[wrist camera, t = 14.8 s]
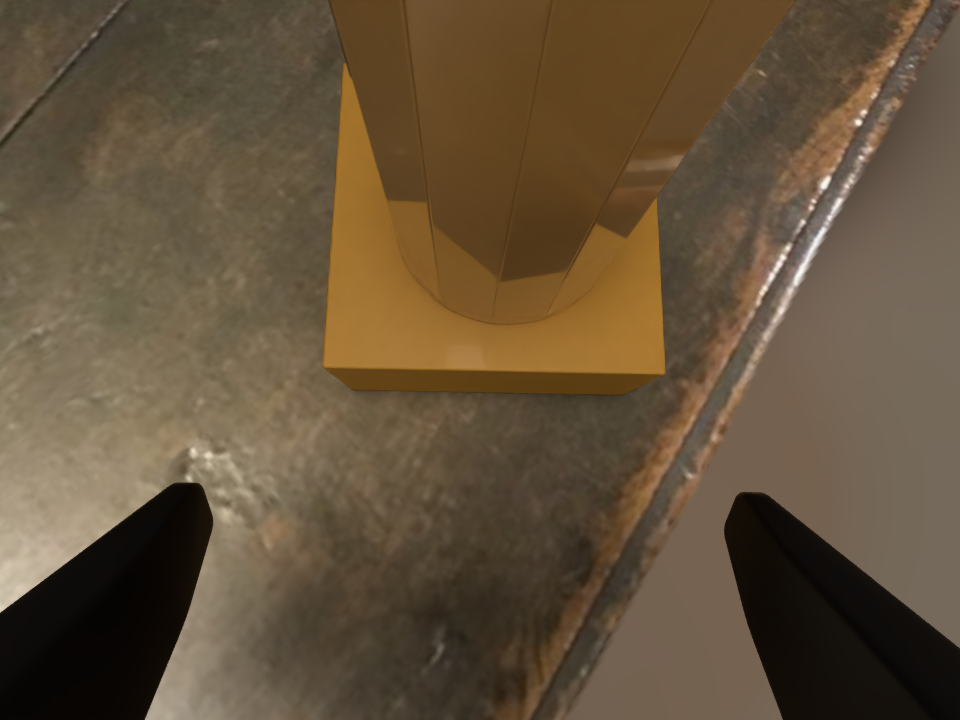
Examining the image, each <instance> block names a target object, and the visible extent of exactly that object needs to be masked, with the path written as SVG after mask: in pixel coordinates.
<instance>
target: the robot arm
mask: <svg viewBox="0 0 960 720" xmlns="http://www.w3.org/2000/svg"><path fill="white" fill-rule="evenodd" d="M212 528H213V516H212V512H211V509H210V506H209V503H208V500H207V498H206V495H205V492H204V489H203V487H202V486H201V485H200V484H199V483H174V484H172V485H170V486H168V487H167V488H166V489H164V490H163V491H162V492H160V493H159V494H158V495H156V496H155V497H154V498H152V499H151V500H150V501H148V502H147V503H146V504H144V505H143V506H142V507H140V508H139V509H138V510H136V511H135V512H134V513H132V514H131V515H130V516H128V517H127V518H126V519H124V520H123V521H122V522H120V523H119V524H118V525H116V526H115V527H114V528H112V529H111V530H110V531H109V532H107V533H106V534H105V535H103V536H102V537H101V538H99V539H98V540H97V541H95V542H94V543H93V544H91V545H90V546H89V547H87V548H86V549H85V550H83V551H82V552H81V553H79V554H78V555H77V556H75V557H74V558H73V559H71V560H70V561H69V562H67V563H66V564H65V565H63V566H62V567H61V568H59V569H58V570H57V571H55V572H54V573H53V574H51V575H50V576H49V577H47V578H46V579H45V580H43V581H42V582H41V583H39V584H38V585H37V586H35V587H34V588H33V589H31V590H30V591H29V592H27V593H26V594H25V595H23V596H22V597H21V598H19V599H18V600H17V601H15V602H14V603H13V604H11V605H10V606H9V607H7V608H6V609H5V610H3V611H2V612H1V613H0V720H145V718H146V715H147V713H148V710H149V708H150V705H151V703H152V701H153V698H154V696H155V693H156V691H157V688H158V686H159V684H160V681H161V679H162V676H163V674H164V672H165V669H166V667H167V664H168V662H169V659H170V657H171V655H172V652H173V650H174V647H175V645H176V642H177V640H178V638H179V635H180V633H181V630H182V627H183V625H184V622H185V620H186V617H187V614H188V611H189V607H190V604H191V601H192V598H193V594H194V591H195V587H196V584H197V580H198V577H199V574H200V570H201V567H202V563H203V560H204V556H205V553H206V549H207V546H208V543H209V539H210V536H211V532H212ZM724 535H725V540H726V544H727V548H728V552H729V555H730V560H731V564H732V567H733V571H734V575H735V579H736V583H737V587H738V591H739V595H740V598H741V602H742V606H743V610H744V613H745V617H746V620H747V624H748V627H749V629H750V632H751V635H752V638H753V641H754V644H755V646H756V649H757V652H758V654H759V657H760V660H761V662H762V665H763V668H764V670H765V673H766V676H767V678H768V681H769V684H770V686H771V689H772V692H773V694H774V697H775V699H776V702H777V705H778V708H779V710H780V713H781V716H782V718H783V720H960V648H959V647H957V646H956V645H955V644H954V643H952V642H951V641H950V640H949V639H947V638H946V637H945V636H944V635H942V634H941V633H940V632H939V631H937V630H936V629H935V628H934V627H932V626H931V625H930V624H929V623H927V622H926V621H925V620H923V619H922V618H921V617H920V616H919V615H917V614H916V613H915V612H913V611H912V610H911V609H910V608H909V607H907V606H906V605H905V604H904V603H902V602H901V601H900V600H898V599H897V598H896V597H895V596H894V595H892V594H891V593H890V592H889V591H887V590H886V589H885V588H884V587H882V586H881V585H880V584H878V583H877V582H876V581H875V580H873V579H872V578H871V577H870V576H869V575H867V574H866V573H865V572H863V571H862V570H861V569H860V568H858V567H857V566H856V565H855V564H853V563H852V562H851V561H850V560H848V559H847V558H846V557H845V556H843V555H842V554H841V553H840V552H838V551H837V550H836V549H835V548H833V547H832V546H831V545H830V544H828V543H827V542H826V541H824V540H823V539H822V538H821V537H819V536H818V535H817V534H816V533H814V532H813V531H812V530H811V529H810V528H808V527H807V526H806V525H805V524H803V523H802V522H801V521H800V520H798V519H797V518H796V517H794V516H793V515H792V514H791V513H790V512H788V511H787V510H785V508H783V507H782V506H781V505H780V504H778V503H777V502H776V501H775V500H773V499H772V498H771V497H769V496H768V495H766V494H764V493H761V492H741V493H739V494H738V495H737V496H736V498H735V500H734V503H733V505H732V508H731V510H730V513H729V515H728V518H727V520H726V523H725V527H724Z"/></svg>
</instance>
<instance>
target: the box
mask: <svg viewBox="0 0 960 720" xmlns="http://www.w3.org/2000/svg"><path fill="white" fill-rule="evenodd" d="M322 366H323V368H324V369H326V370H327V371H328V372H330V373H331V374H332V375H334V376H335V377H336V378H338V379H339V380H340V381H342V382H343V383H344V384H346V385H347V386H348V387H350V388H351V389H353V390H380V391H434V392H488V393H541V394H595V395H623V394H625V393H627V392H629V391H631V390H633V389H635V388H637V387H639V386H642V385H644V384H646V383H648V382H650V381H652V380H654V379H656V378H658V377H660V376H662V375H665V353H664V333H663V313H662V293H661V273H660V253H659V233H658V213H657V197H656V199H655V200H654V201H653V203H652V204H651V206H650V207H649V209H648V210H647V211H646V213H645V214H644V216H643V217H642V218H641V220H640V221H639V223H638V224H637V225H636V227H635V228H634V230H633V231H632V233H631V234H630V235H629V237H628V238H627V240H626V241H625V242H624V244H623V245H622V247H621V248H620V250H619V251H618V252H617V254H616V255H615V257H614V258H613V259H612V261H611V262H610V264H609V265H608V266H607V268H606V269H605V271H604V272H603V274H602V275H601V276H600V278H599V279H598V281H597V282H596V283H595V285H594V286H593V288H592V289H590V291H588V292H586V293H585V294H584V295H583V296H582V297H581V298H580V299H579V300H578V301H576V302H575V303H573V304H572V305H570V306H569V307H567V308H566V309H564V310H562V311H560V312H558V313H556V314H554V315H552V316H549V317H546V318H544V319H541V320H537V321H533V322H528V323H521V324H493V323H487V322H481V321H477V320H474V319H471V318H468V317H465V316H463V315H460V314H458V313H456V312H454V311H452V310H450V309H448V308H447V307H445V306H444V305H442V304H440V303H439V302H438V301H436V300H435V299H434V298H433V297H432V296H430V295H429V294H428V293H427V292H426V291H425V290H424V289H423V288H422V287H421V286H420V285H419V284H418V282H417V281H416V279H415V278H414V277H413V275H412V274H411V273H410V271H409V269H408V267H407V265H406V264H405V262H404V261H403V258H402V255H401V252H400V249H399V246H398V243H397V239H396V236H395V233H394V229H393V226H392V223H391V220H390V216H389V213H388V209H387V206H386V202H385V199H384V195H383V192H382V188H381V185H380V181H379V178H378V174H377V171H376V167H375V164H374V160H373V157H372V153H371V150H370V146H369V143H368V139H367V136H366V132H365V129H364V125H363V122H362V118H361V115H360V111H359V108H358V104H357V101H356V97H355V94H354V90H353V87H352V83H351V80H350V76H349V73H348V69H347V66H346V63H345V64H344V66H343V79H342V93H341V108H340V122H339V136H338V150H337V165H336V179H335V193H334V208H333V222H332V236H331V251H330V265H329V279H328V294H327V308H326V322H325V337H324V351H323V365H322Z"/></svg>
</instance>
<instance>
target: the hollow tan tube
mask: <svg viewBox="0 0 960 720" xmlns="http://www.w3.org/2000/svg"><path fill="white" fill-rule="evenodd" d="M795 1H796V0H328V3H329V6H330V10H331V13H332V17H333V20H334V24H335V27H336V31H337V34H338V38H339V41H340V45H341V48H342V52H343V55H344V59H345V62H346V66H347V69H348V73H349V76H350V80H351V83H352V87H353V90H354V94H355V97H356V101H357V104H358V108H359V111H360V115H361V118H362V122H363V125H364V129H365V132H366V136H367V139H368V143H369V146H370V150H371V153H372V157H373V160H374V164H375V167H376V171H377V174H378V178H379V181H380V185H381V188H382V192H383V195H384V199H385V202H386V206H387V209H388V213H389V216H390V220H391V223H392V226H393V229H394V233H395V236H396V239H397V243H398V246H399V249H400V252H401V255H402V258H403V261H404V262H405V264H406V265H407V267H408V269H409V271H410V273H411V274H412V275H413V277H414V278H415V279H416V281H417V282H418V284H419V285H420V286H421V287H422V288H423V289H424V290H425V291H426V292H427V293H428V294H429V295H430V296H432V297H433V298H434V299H435V300H436V301H438V302H439V303H440V304H442V305H444V306H445V307H447V308H448V309H450V310H452V311H454V312H456V313H458V314H460V315H463V316H465V317H468V318H471V319H474V320H477V321H481V322H487V323H493V324H521V323H528V322H533V321H537V320H541V319H544V318H546V317H549V316H552V315H554V314H556V313H558V312H560V311H562V310H564V309H566V308H567V307H569V306H570V305H572V304H573V303H575V302H576V301H578V300H579V299H580V298H581V297H582V296H583V295H584V294H585V293H586V292H588V291H590V289H592V288H593V286H594V285H595V283H596V282H597V281H598V279H599V278H600V276H601V275H602V274H603V272H604V271H605V269H606V268H607V266H608V265H609V264H610V262H611V261H612V259H613V258H614V257H615V255H616V254H617V252H618V251H619V250H620V248H621V247H622V245H623V244H624V242H625V241H626V240H627V238H628V237H629V235H630V234H631V233H632V231H633V230H634V228H635V227H636V225H637V224H638V223H639V221H640V220H641V218H642V217H643V216H644V214H645V213H646V211H647V210H648V209H649V207H650V206H651V204H652V203H653V201H654V200H655V199H656V197H657V196H658V194H659V193H660V192H661V190H662V189H663V187H664V186H665V185H666V183H667V182H668V180H669V179H670V177H671V176H672V175H673V173H674V172H675V170H676V169H677V168H678V166H679V165H680V163H681V162H682V160H683V159H684V158H685V156H686V155H687V153H688V152H689V151H690V149H691V148H692V146H693V145H694V144H695V142H696V141H697V139H698V138H699V136H700V135H701V134H702V132H703V131H704V129H705V128H706V127H707V125H708V124H709V122H710V121H711V120H712V118H713V117H714V115H715V114H716V112H717V111H718V110H719V108H720V107H721V105H722V104H723V103H724V101H725V100H726V98H727V97H728V95H729V94H730V93H731V91H732V90H733V88H734V87H735V86H736V84H737V83H738V81H739V80H740V79H741V77H742V76H743V74H744V73H745V71H746V70H747V69H748V67H749V66H750V64H751V63H752V62H753V60H754V59H755V57H756V56H757V55H758V53H759V52H760V50H761V49H762V47H763V46H764V45H765V43H766V42H767V40H768V39H769V38H770V36H771V35H772V33H773V32H774V31H775V29H776V28H777V26H778V25H779V23H780V22H781V21H782V19H783V18H784V16H785V15H786V14H787V12H788V11H789V9H790V8H791V6H792V5H793V4H794V2H795Z"/></svg>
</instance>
